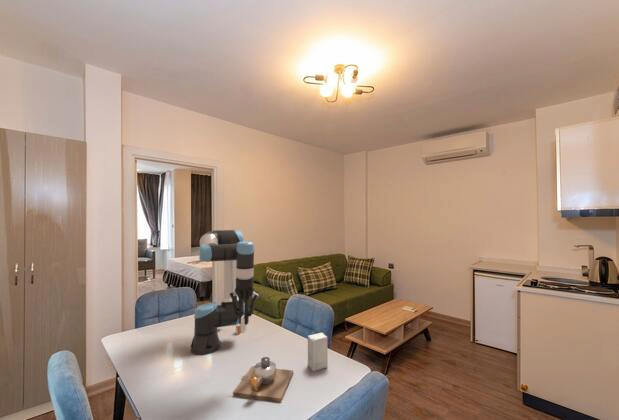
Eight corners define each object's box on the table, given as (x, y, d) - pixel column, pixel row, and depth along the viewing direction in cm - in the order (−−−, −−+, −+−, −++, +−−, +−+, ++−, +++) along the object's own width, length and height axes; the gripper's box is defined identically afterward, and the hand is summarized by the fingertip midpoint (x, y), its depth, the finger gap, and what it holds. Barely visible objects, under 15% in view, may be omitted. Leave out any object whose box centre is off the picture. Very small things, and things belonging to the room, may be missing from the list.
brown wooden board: (231, 396, 110) (232, 388, 110) (251, 369, 130) (251, 362, 130) (280, 402, 106) (281, 394, 106) (293, 373, 126) (293, 366, 126)
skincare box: (322, 362, 137) (322, 331, 137) (328, 368, 131) (328, 336, 132) (306, 365, 133) (307, 334, 133) (312, 372, 128) (312, 339, 128)
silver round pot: (260, 368, 124) (260, 352, 124) (279, 371, 121) (279, 355, 121) (242, 389, 108) (242, 371, 109) (263, 393, 106) (263, 375, 106)
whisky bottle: (245, 329, 177) (204, 327, 184) (245, 319, 178) (203, 318, 184) (238, 335, 168) (194, 334, 174) (238, 325, 168) (194, 324, 174)
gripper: (261, 276, 122) (260, 329, 122) (234, 274, 125) (233, 326, 125) (255, 280, 115) (254, 336, 115) (226, 278, 118) (225, 333, 117)
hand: (243, 331), depth 120 cm, fingers closed
